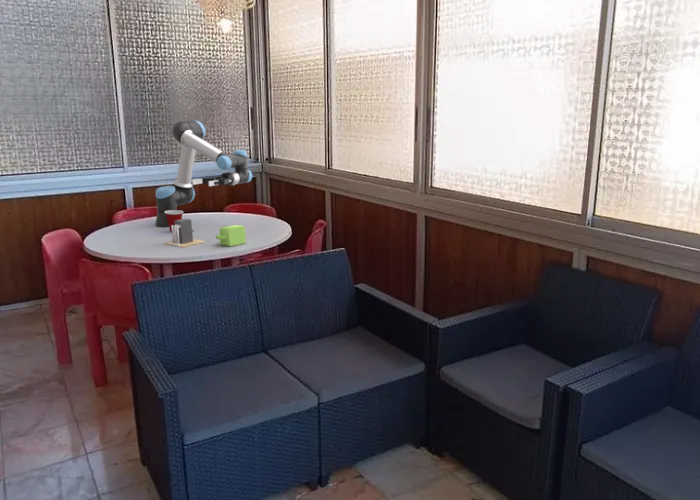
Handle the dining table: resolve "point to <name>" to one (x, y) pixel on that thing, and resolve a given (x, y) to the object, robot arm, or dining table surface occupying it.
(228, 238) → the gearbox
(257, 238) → the dining table surface
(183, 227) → the plug housing
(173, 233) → the board
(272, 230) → the dining table surface
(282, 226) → the dining table surface
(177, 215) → the plastic cup
